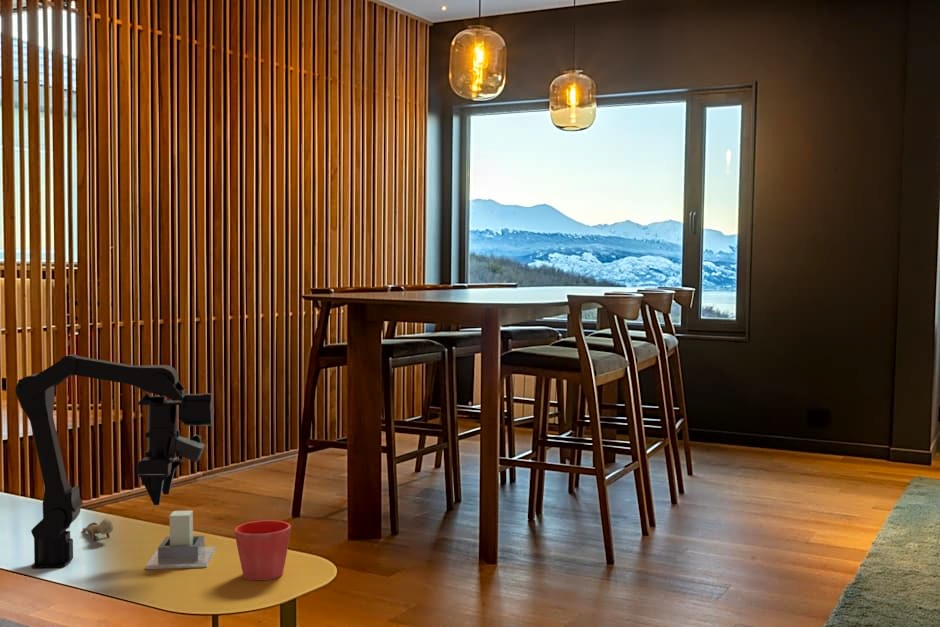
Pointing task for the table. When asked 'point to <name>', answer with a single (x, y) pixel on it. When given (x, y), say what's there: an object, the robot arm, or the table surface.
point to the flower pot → (262, 548)
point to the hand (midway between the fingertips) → (161, 499)
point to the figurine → (100, 528)
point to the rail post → (181, 528)
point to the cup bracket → (181, 555)
